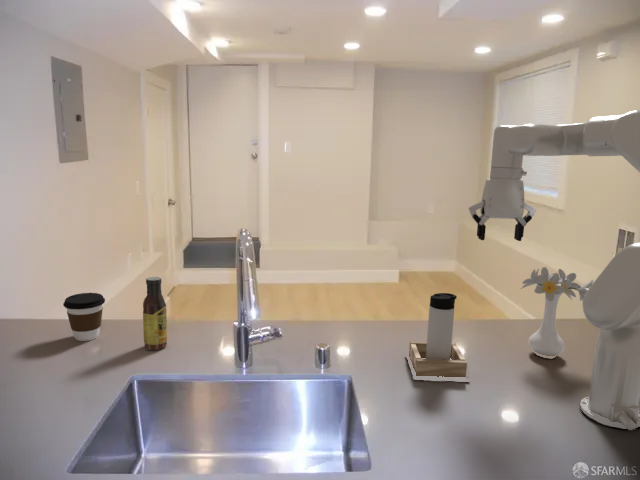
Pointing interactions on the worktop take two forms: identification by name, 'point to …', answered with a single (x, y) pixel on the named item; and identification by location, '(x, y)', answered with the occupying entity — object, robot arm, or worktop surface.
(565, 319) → the worktop surface
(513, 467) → the worktop surface
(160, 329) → the sauce bottle
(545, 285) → the flower vase
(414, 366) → the wooden square tray
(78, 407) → the worktop surface
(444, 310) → the travel mug
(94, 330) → the coffee cup
